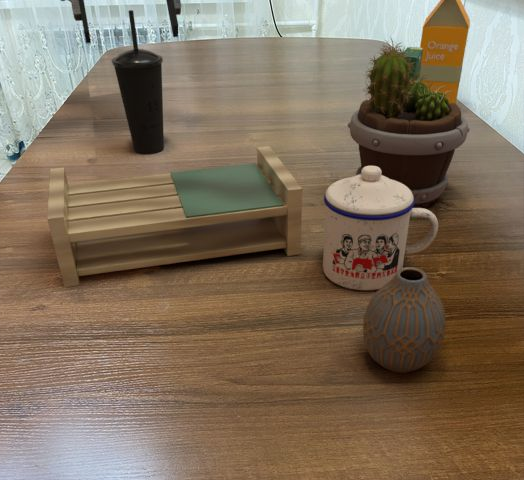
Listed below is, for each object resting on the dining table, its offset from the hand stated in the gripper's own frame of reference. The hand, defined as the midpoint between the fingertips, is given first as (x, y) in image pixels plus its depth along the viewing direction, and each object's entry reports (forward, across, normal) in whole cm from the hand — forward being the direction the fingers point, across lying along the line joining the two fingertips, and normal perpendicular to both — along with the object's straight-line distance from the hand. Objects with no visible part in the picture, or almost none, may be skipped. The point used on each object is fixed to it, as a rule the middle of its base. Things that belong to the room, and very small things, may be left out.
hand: (132, 34), depth 94 cm
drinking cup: (+16, 0, +7) cm, 17 cm away
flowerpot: (+36, +31, -13) cm, 49 cm away
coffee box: (+20, +42, +3) cm, 46 cm away
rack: (+40, 0, -17) cm, 43 cm away
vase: (+60, +16, -37) cm, 72 cm away
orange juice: (+12, +54, +11) cm, 56 cm away
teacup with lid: (+49, +20, -26) cm, 59 cm away
